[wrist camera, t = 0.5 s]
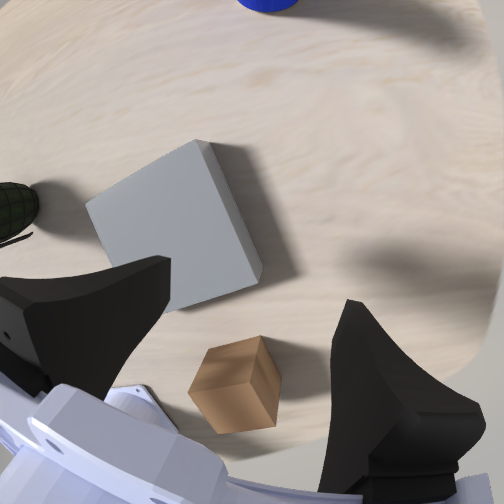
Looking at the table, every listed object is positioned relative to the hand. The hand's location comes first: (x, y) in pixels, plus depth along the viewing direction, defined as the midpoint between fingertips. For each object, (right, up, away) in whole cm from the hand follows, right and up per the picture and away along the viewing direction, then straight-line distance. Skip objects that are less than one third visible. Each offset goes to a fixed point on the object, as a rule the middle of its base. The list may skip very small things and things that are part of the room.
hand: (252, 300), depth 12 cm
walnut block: (-1, -8, +14) cm, 16 cm away
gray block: (-6, +4, +11) cm, 13 cm away
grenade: (-23, +7, +13) cm, 27 cm away
